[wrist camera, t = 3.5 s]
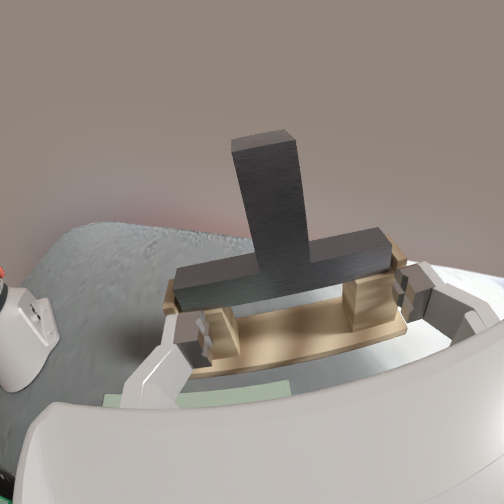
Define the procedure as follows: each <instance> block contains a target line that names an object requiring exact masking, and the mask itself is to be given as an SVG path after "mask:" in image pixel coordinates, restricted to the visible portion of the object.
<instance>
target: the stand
mask: <svg viewBox="0 0 504 504" xmlns="http://www.w3.org/2000/svg"><path fill="white" fill-rule="evenodd" d="M386 237H387V239H388V240H389V241H390V242H391V243H392V254H391V262H390V270H389V272H386V273H382V274H378V275H374V276H370V277H366V278H362V279H358V280H354V281H350V282H345V283H343V292H342V297H337V298H333V299H329V300H325V301H320V302H316V303H311V304H307V305H302V306H297V307H293V308H288V309H283V310H278V311H273V312H268V313H263V314H257V315H252V316H247V317H241V318H235V317H234V314H233V311H232V309H231V306H230V307H224V308H218V309H212V310H206V311H203V312H204V314H205V316H206V317H205V322H207V323H209V325H210V327H211V330H212V335H213V345H212V347H211V348H210V349H211V351H212V353H213V360H212V367H205V368H197V369H193V371H192V373H191V375H190V376H189V378H188V379H195V378H205V377H214V376H222V375H230V374H238V373H244V372H251V371H257V370H263V369H269V368H275V367H280V366H285V365H291V364H296V363H300V362H305V361H310V360H314V359H318V358H323V357H327V356H331V355H335V354H339V353H343V352H347V351H350V350H354V349H358V348H361V347H365V346H368V345H372V344H375V343H378V342H382V341H385V340H388V339H391V338H394V337H397V336H400V335H403V334H406V332H407V329H408V328H407V326H406V324H405V322H404V320H403V318H402V317H401V315H400V313H399V311H398V309H397V308H398V306H397V305H396V303H395V301H394V299H393V295H392V286H393V283H394V282H395V281H396V279H395V277H394V274H395V271H396V269H399V268H402V267H406V263H407V257H406V256H405V255H404V254H403V253H402V251H401V250H400V249H399V247H398V246H397V245H396V244H395V242H394V241H393V240H392V239H391V237H390V236H389V235H386ZM174 280H175V279H171V280H169V282H168V286H167V291H166V295H165V299H164V304H163V308H162V309H163V311H164V313H165V315H166V316H167V315H171V314H179V313H184V312H183V310H182V308H181V306H180V304H179V302H178V300H177V298H176V296H175V294H174V292H173V290H172V289H173V284H174Z"/></svg>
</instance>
